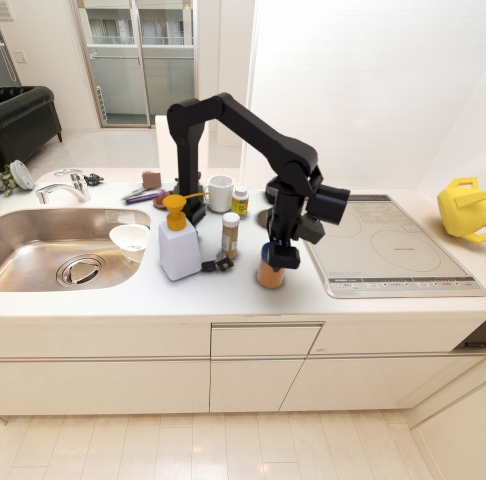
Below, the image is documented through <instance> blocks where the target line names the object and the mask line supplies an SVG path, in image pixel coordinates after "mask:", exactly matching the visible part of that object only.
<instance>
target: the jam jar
mask: <svg viewBox="0 0 486 480" xmlns="http://www.w3.org/2000/svg"><path fill="white" fill-rule="evenodd" d="M286 270H287V269H286V268H281V269H280V271H279V272H273V269H272V267H270V266H269V265H268V264H267V263H266V262H264V261H263V259H262V258H261V257H260V260H259V266H258V271H257V276H256V278H257V281H258V283H259V284H260V285H261V286H263V287H265V288H267V289H276V288H279V287H280V286H281V285H282V282H283V279H284V276H285V272H286Z"/></svg>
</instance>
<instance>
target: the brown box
mask: <svg viewBox="0 0 486 480" xmlns="http://www.w3.org/2000/svg"><path fill="white" fill-rule="evenodd" d="M161 176H162V175H161V172H154V171H151V170H145V171H142V174H141V179H142V187H143V189H147V190H149V189H155V188H156V189H158V188H162V177H161ZM148 188H149V189H148Z"/></svg>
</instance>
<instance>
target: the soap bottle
mask: <svg viewBox="0 0 486 480" xmlns="http://www.w3.org/2000/svg"><path fill="white" fill-rule="evenodd" d="M209 194H210V192H205V193H198V194H193V195H189V196H185V197H183V196H181V195H176V194H174V195H170V196H167V197H166V198H165V199H163V205H164V206H166V207H167V208H166V210H167V211H169V212H168V213H167V214H166V217H165V219H166V220H164V221H161V222H159V223H158V227H157V229H158V250H159V251H158V252H159V262H160V264H161V266H162V268H163V270H164V272H165V274H166V276H167V277H168V279H170V280H171V281H177V280H180V279H183V278H185V277H187V276H191V275H193V274H196V273H198V272H200V271H202V266H201V264H202V259H201V258H202V257H201V252H200V247H199V246H200V245H199V237H198V238H197V232H196V230H197V229H196V230H195V228H194V227H193V226H192V224H191V223H190V222H189V221H188V219H187V218H186V216H185V214H184V213H183V212H181V211H180V210H182V209H183V206H184V205H185V204H186V198H189V197H193V196H198V195H206V196H207V195H208V196H209Z"/></svg>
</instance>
